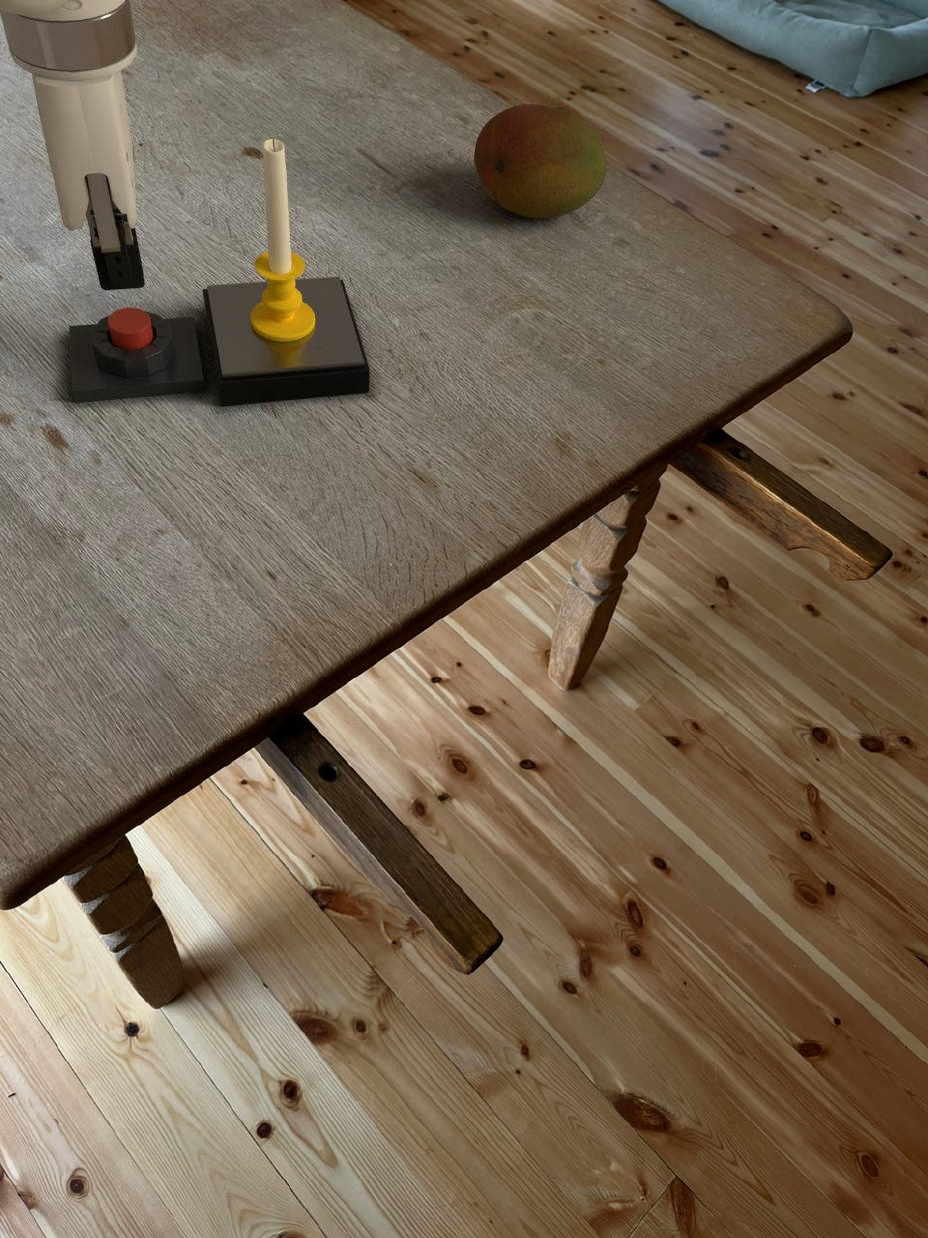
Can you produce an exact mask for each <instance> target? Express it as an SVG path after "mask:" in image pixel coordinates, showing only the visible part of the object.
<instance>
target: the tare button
mask: <svg viewBox="0 0 928 1238" xmlns="http://www.w3.org/2000/svg"><path fill="white" fill-rule="evenodd" d="M145 311H146V310H144V309H141V308H139V307H138V308H136V307H123V308H119V309H117V310H114V311H113V312H112V313H111V314H109V315H110V316H109V315H108V316H109V318H108V326H109V330H110V335H111V339H112V342H113V344H114V345H115V346H116V347H118V348H120V349H124V350H135V349H142V348H144V347H146V346H148V345H150V344H151V342H152V340H153V332H152V326H151V321H150V317H149V315H148V314H147V313H146V312H145Z"/></svg>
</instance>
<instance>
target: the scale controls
mask: <svg viewBox="0 0 928 1238" xmlns="http://www.w3.org/2000/svg"><path fill="white" fill-rule="evenodd" d="M144 311H145V312H146V313H147V314H148V315H149V317H150V321H151V326H152V332H153V340H152V342H151V344H150V345H148V346H146V347H144V348H142V349H135V350H124V349H120V348H118V347H116V346H115V345H114V344H113V342H112V339H111V335H110V330H109V326H108V318H109V316H110V315H111V314H109V315H107V316H104V317H102V318H100V319H99V321H98V322H97V323H91V324H90V323H89V324H79V325H78V324H77V325H69V326H68V334H69V336H68V337H69V355H70V372H71V374H70V376H71V392H72V396H73V399H74V403H76V404H77V403H78V404H79V403H88V402H99V401H111V400H120V399H121V400H122V399H132V398H133V399H134V398H143V397H155V396H165V395H177V394H185V393H186V394H188V393H199V392H206V385H205V384H206V383H205V377H204V370H203V364H202V358H201V351H200V346H199V339H198V333H197V326H196V319H195V316H186V317H172V318H171V317H170V318H163V317H162V316H160V314H158V313H155V312H150V311H147V310H144Z"/></svg>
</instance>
